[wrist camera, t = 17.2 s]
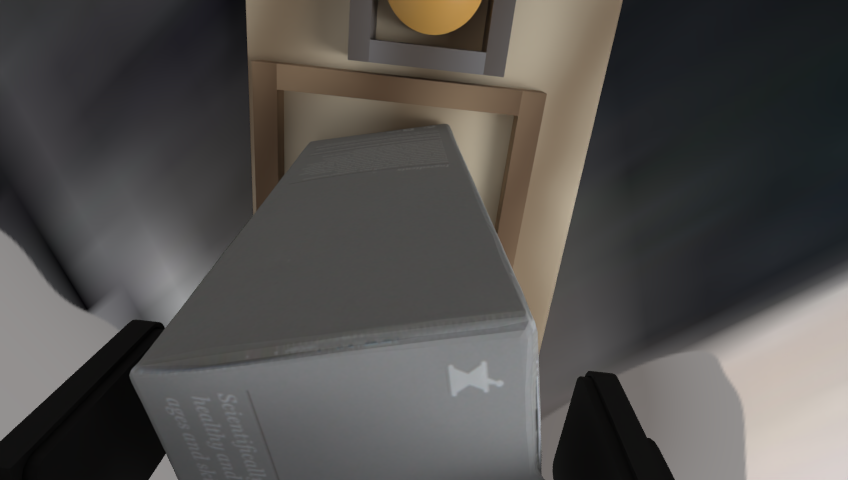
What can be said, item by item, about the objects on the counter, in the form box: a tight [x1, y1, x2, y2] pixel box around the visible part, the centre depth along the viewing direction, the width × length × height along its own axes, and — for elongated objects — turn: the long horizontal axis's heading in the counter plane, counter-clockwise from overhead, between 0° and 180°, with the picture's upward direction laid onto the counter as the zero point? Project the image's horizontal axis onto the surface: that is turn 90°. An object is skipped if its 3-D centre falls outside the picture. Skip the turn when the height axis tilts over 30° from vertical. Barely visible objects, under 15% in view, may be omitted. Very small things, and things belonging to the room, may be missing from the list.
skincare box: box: [129, 124, 544, 480], centre depth 16 cm, size 8×7×16 cm
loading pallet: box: [246, 0, 623, 356], centre depth 22 cm, size 15×20×4 cm
